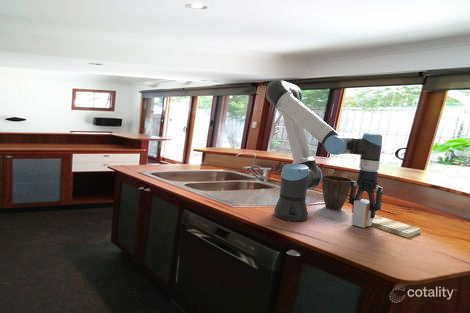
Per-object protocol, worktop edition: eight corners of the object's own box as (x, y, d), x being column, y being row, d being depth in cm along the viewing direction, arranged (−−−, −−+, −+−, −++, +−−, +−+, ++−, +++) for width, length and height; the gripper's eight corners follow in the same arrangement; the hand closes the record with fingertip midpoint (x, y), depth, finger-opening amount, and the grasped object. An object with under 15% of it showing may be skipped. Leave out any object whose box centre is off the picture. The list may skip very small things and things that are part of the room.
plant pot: (354, 210, 148) (357, 179, 147) (339, 214, 138) (343, 182, 137) (327, 203, 159) (331, 174, 157) (312, 206, 149) (316, 176, 147)
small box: (363, 228, 120) (366, 203, 118) (350, 224, 124) (353, 200, 123) (372, 225, 125) (375, 201, 124) (360, 221, 129) (362, 198, 128)
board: (355, 220, 131) (356, 216, 131) (368, 217, 138) (369, 213, 138) (407, 237, 114) (408, 233, 113) (419, 232, 121) (420, 228, 121)
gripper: (343, 166, 127) (337, 217, 129) (387, 174, 112) (379, 231, 115) (352, 166, 131) (346, 215, 134) (395, 173, 117) (388, 228, 119)
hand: (362, 222), depth 124 cm, fingers closed on small box, 6 cm apart
